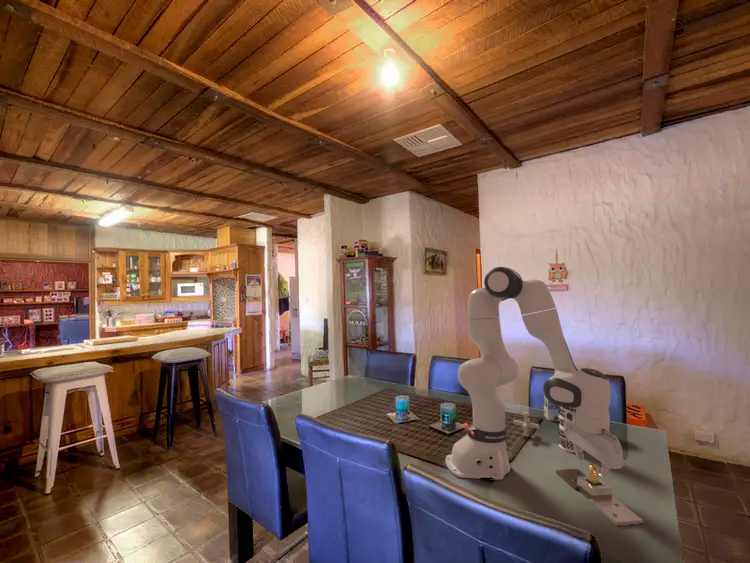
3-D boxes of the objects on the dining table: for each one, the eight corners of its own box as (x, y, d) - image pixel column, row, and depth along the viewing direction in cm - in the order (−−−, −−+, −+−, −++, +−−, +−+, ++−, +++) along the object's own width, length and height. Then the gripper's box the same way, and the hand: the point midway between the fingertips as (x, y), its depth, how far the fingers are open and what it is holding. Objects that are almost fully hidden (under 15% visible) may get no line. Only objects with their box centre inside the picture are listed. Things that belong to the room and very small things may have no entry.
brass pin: (595, 498, 105) (595, 468, 105) (587, 494, 107) (587, 464, 107) (600, 496, 106) (600, 466, 106) (592, 492, 108) (592, 463, 108)
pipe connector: (540, 434, 150) (540, 411, 150) (537, 443, 142) (537, 418, 142) (516, 429, 155) (516, 406, 155) (511, 437, 147) (511, 413, 147)
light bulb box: (547, 420, 165) (547, 398, 165) (543, 415, 172) (543, 393, 172) (571, 422, 163) (571, 399, 163) (566, 416, 170) (566, 394, 170)
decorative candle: (558, 440, 144) (557, 380, 144) (584, 445, 139) (583, 383, 139) (557, 449, 136) (556, 386, 136) (584, 455, 131) (584, 389, 132)
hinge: (643, 523, 94) (642, 509, 94) (615, 525, 93) (615, 510, 93) (577, 471, 120) (577, 460, 120) (555, 472, 119) (555, 461, 119)
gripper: (630, 438, 97) (628, 486, 97) (578, 409, 117) (576, 449, 117) (610, 439, 96) (608, 488, 96) (561, 410, 116) (559, 450, 117)
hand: (590, 466), depth 107 cm, fingers open, 8 cm apart
